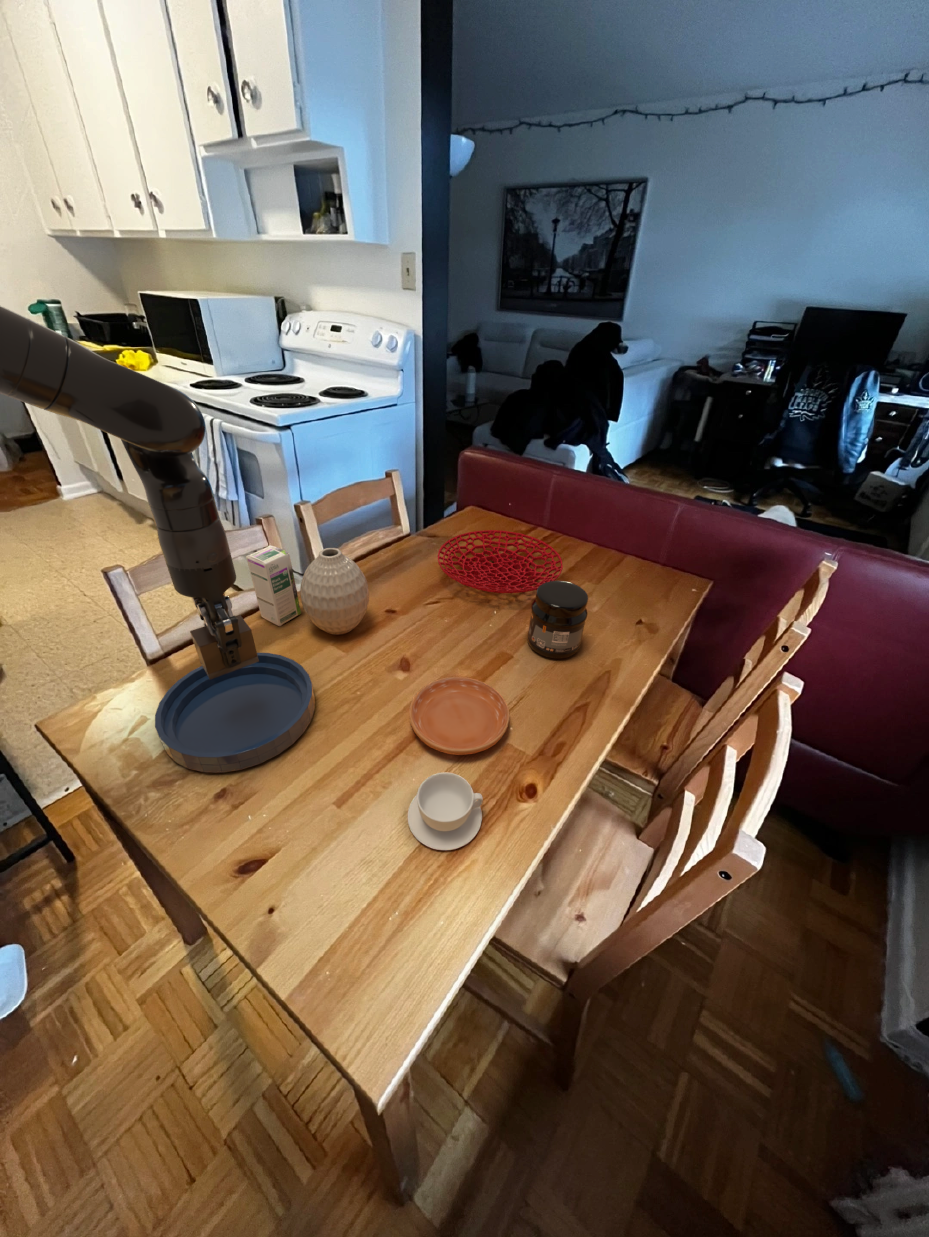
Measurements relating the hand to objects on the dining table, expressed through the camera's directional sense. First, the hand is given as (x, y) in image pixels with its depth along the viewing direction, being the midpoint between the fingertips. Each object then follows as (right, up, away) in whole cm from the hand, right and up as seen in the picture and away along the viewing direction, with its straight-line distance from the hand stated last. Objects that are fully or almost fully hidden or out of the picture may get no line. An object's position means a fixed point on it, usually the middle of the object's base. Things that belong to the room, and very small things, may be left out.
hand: (227, 655), depth 73 cm
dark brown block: (0, -1, +1) cm, 1 cm away
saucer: (+34, -12, +8) cm, 37 cm away
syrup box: (-3, +6, +30) cm, 30 cm away
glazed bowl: (-1, -10, +7) cm, 12 cm away
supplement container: (+52, 0, +26) cm, 59 cm away
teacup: (+32, -21, -6) cm, 39 cm away
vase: (+10, +4, +28) cm, 30 cm away
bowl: (+43, +16, +47) cm, 65 cm away
